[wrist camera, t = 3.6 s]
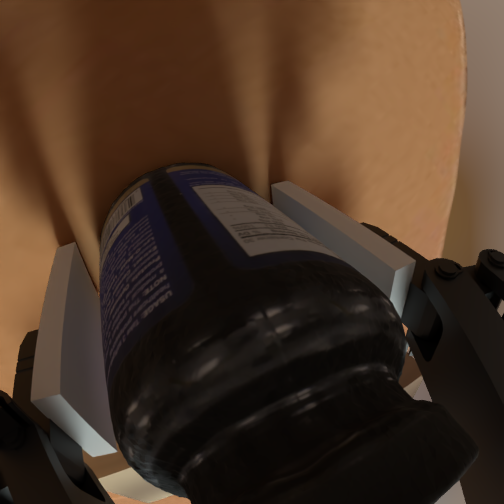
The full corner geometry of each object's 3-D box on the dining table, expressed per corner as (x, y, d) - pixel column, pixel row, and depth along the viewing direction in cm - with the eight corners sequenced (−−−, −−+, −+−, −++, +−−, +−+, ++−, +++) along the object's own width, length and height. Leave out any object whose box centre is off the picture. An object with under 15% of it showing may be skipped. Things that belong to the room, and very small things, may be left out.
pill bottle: (148, 326, 13) (245, 585, 4) (69, 209, 9) (63, 619, 1) (271, 261, 14) (455, 466, 5) (227, 130, 11) (582, 330, 2)
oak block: (75, 400, 13) (84, 483, 9) (147, 362, 14) (172, 450, 10) (130, 434, 16) (148, 503, 12) (194, 404, 17) (224, 474, 13)
